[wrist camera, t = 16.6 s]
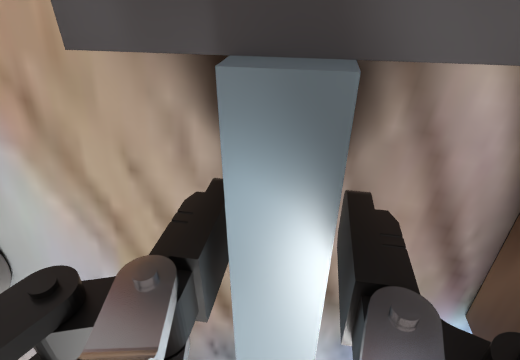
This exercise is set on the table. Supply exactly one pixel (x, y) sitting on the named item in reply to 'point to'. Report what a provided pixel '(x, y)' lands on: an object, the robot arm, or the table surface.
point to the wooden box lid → (499, 293)
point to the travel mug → (4, 275)
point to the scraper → (290, 121)
